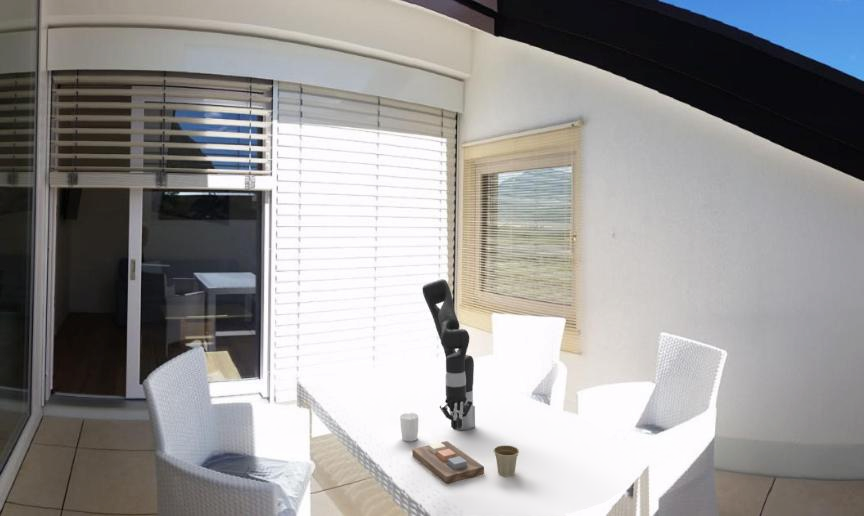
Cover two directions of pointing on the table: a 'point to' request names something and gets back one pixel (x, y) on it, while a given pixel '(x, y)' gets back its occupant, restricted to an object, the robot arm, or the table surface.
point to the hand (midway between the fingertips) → (456, 428)
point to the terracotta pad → (446, 455)
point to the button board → (442, 467)
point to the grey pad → (457, 463)
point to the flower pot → (506, 459)
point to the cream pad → (436, 447)
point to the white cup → (409, 426)
